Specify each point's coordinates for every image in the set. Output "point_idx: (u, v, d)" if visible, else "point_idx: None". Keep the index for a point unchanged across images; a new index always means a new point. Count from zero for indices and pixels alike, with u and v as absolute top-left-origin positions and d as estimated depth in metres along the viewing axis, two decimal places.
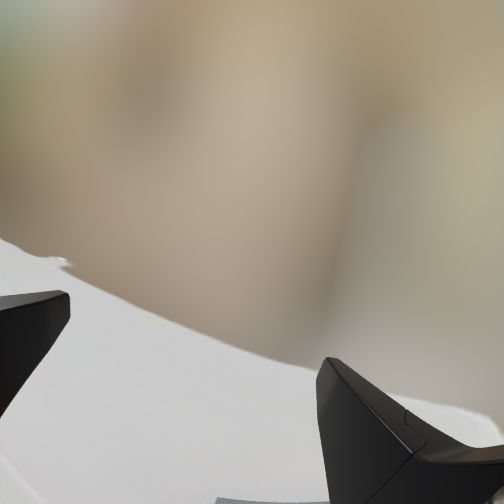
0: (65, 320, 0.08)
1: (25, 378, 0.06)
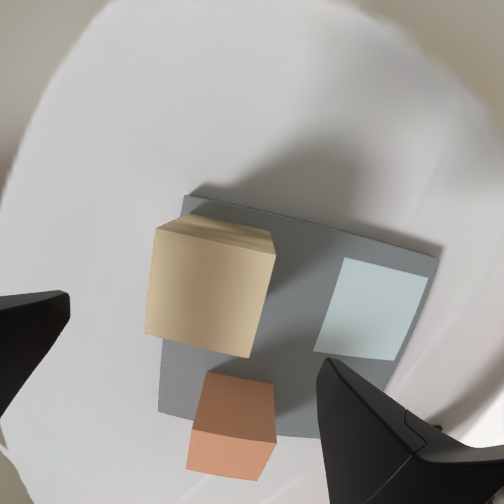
0: (65, 320, 0.08)
1: (25, 378, 0.06)
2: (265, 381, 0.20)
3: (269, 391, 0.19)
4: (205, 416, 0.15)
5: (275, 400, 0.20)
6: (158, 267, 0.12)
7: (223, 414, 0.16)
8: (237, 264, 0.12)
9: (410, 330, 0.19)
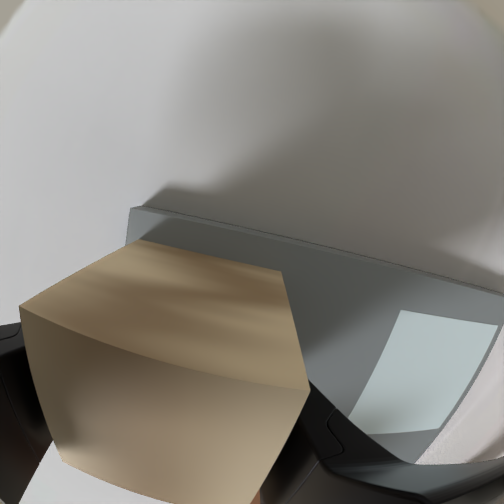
0: None
1: None
2: None
3: None
4: None
5: None
6: (44, 382, 0.04)
7: None
8: (207, 408, 0.04)
9: (465, 392, 0.11)
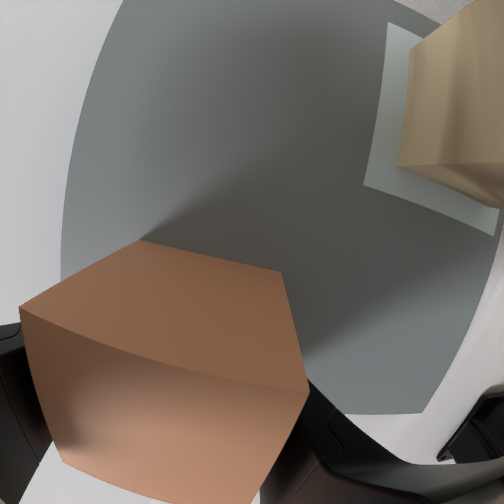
0: None
1: None
2: (264, 264, 0.10)
3: (274, 279, 0.09)
4: (80, 291, 0.05)
5: None
6: None
7: (135, 296, 0.06)
8: None
9: None
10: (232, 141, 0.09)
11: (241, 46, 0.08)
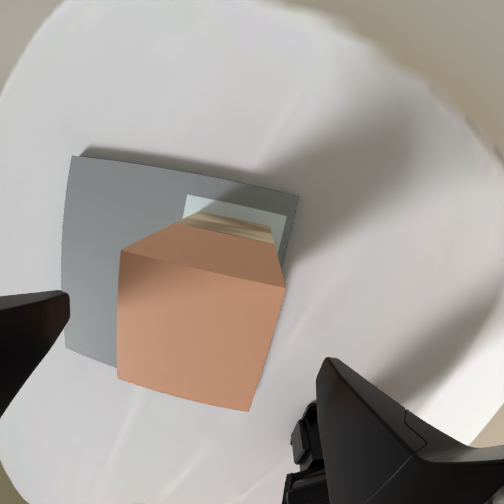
0: (65, 320, 0.08)
1: (25, 378, 0.06)
2: None
3: (270, 247, 0.13)
4: (153, 245, 0.09)
5: None
6: None
7: (187, 248, 0.10)
8: None
9: None
10: None
11: (118, 224, 0.20)
